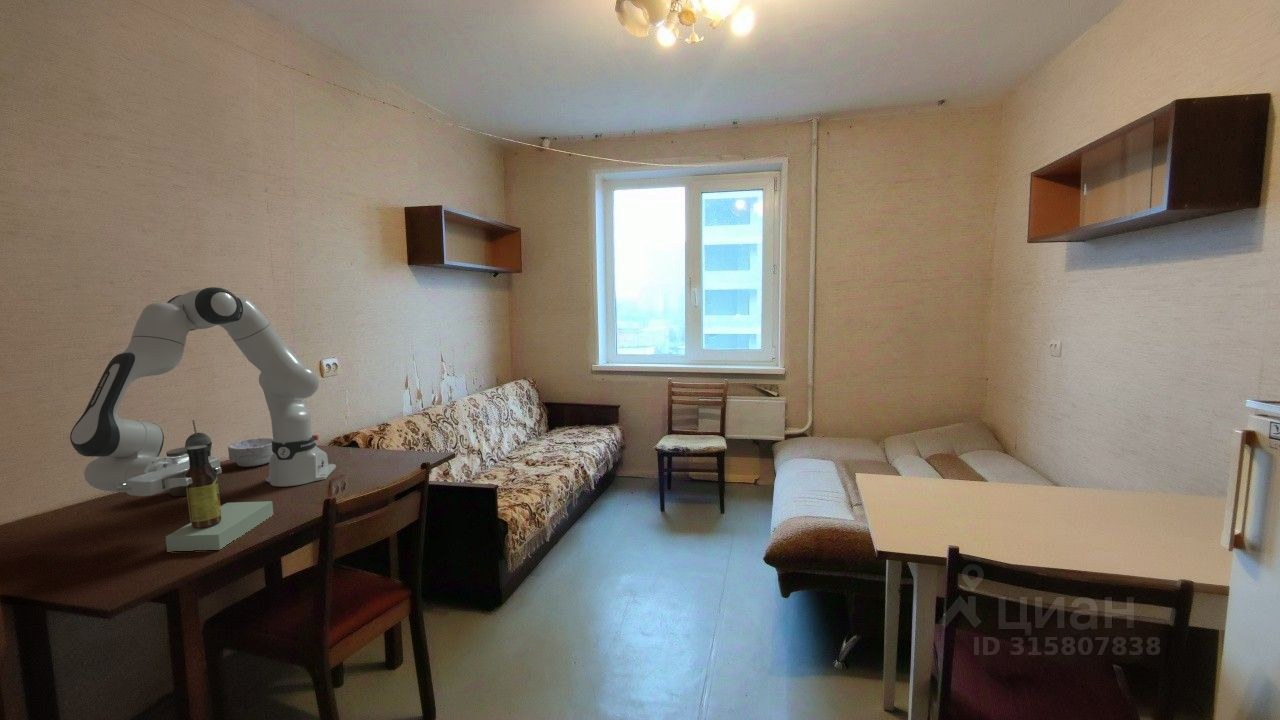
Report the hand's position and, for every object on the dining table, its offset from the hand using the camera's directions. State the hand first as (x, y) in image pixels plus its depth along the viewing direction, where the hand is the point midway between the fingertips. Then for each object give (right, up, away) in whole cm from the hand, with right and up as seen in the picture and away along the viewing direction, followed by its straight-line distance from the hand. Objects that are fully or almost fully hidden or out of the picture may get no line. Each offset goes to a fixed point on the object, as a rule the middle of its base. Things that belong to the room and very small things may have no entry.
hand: (204, 476), depth 136 cm
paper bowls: (-35, -10, +67) cm, 77 cm away
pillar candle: (-34, -13, +38) cm, 53 cm away
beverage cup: (-42, -12, +51) cm, 67 cm away
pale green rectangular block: (0, -16, +6) cm, 17 cm away
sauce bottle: (-1, -13, +2) cm, 13 cm away
